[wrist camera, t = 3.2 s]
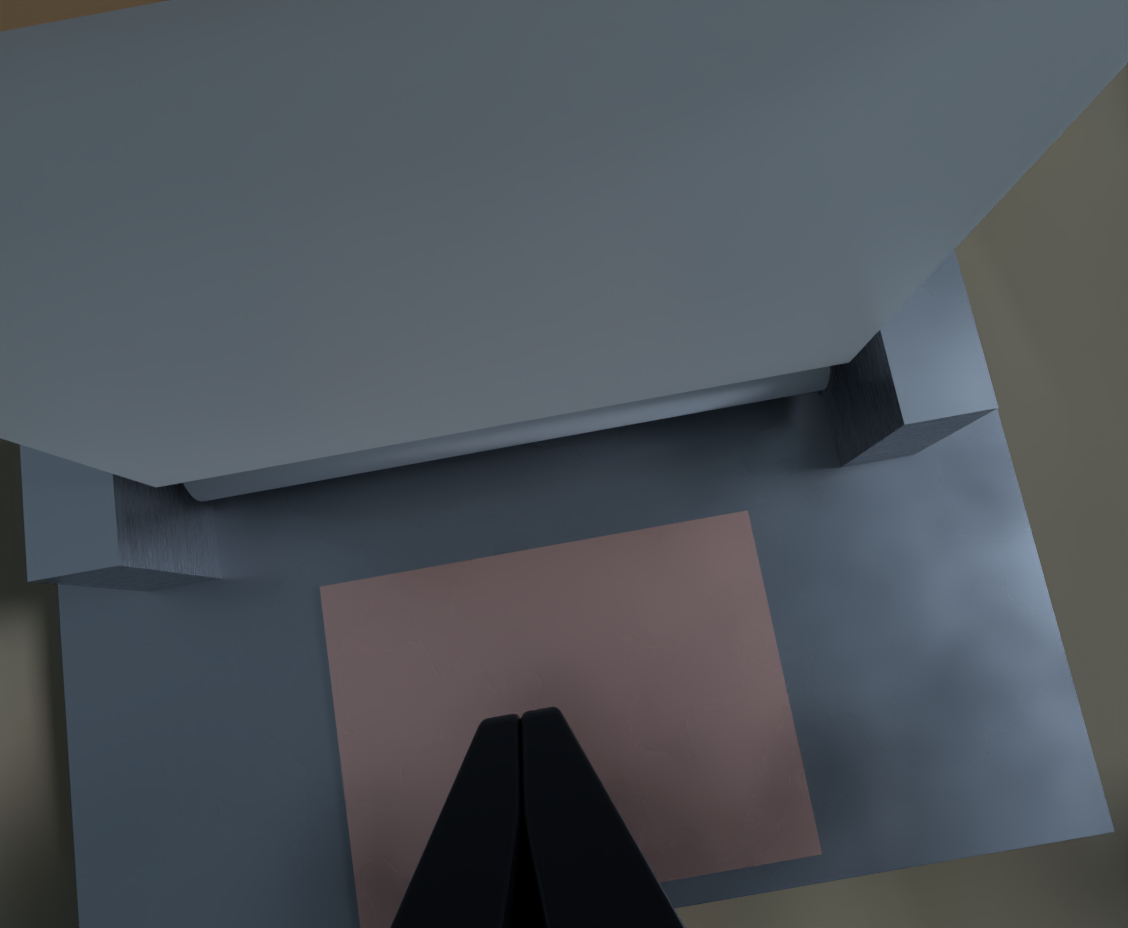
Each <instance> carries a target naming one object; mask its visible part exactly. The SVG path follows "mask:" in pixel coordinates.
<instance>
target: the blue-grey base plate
mask: <svg viewBox="0 0 1128 928" xmlns="http://www.w3.org/2000/svg"><path fill="white" fill-rule="evenodd" d="M997 408H998V404H997V400H996V397H995V393H994V390H993V386H992V382H991V379H990V375H989V372H988V368H987V364H986V361H985V357H984V354H983V350H982V346H981V343H980V339H979V336H978V332H977V328H976V325H975V321H974V318H973V314H972V310H971V307H970V303H969V300H968V296H967V293H966V289H965V285H964V282H963V278H962V275H961V271H960V267H959V264H958V260H957V257H956V253H955V249H954V250H953V251H952V252H951V253H950V255H949V256H948V257H947V258H946V259H945V260H944V261H943V262H942V263H941V264H940V265H939V266H938V267H937V269H936V270H935V271H934V272H933V273H932V274H931V275H930V276H929V277H928V278H927V279H926V280H925V281H924V283H923V284H922V285H921V286H920V287H919V288H918V289H917V290H916V291H915V292H914V293H913V294H912V295H911V297H910V298H909V299H908V300H907V301H906V302H905V303H904V304H903V305H902V306H901V307H900V308H899V309H898V311H897V312H896V313H895V314H894V315H893V316H892V317H891V318H890V319H889V320H888V321H887V322H886V323H885V325H884V326H883V327H882V328H881V329H880V330H879V331H878V332H877V333H876V334H875V335H874V336H873V337H872V339H871V340H870V341H869V342H868V343H867V344H866V345H865V346H864V347H863V348H862V349H861V350H860V351H859V353H858V354H857V355H856V356H855V357H854V358H853V359H852V360H851V361H850V362H849V363H844V364H839V365H833V366H830V377H829V381H828V384H827V387H826V388H825V389H824V390H820V391H815V392H809V393H804V394H798V395H793V396H787V397H781V398H776V399H770V400H765V401H759V402H754V403H748V404H743V405H737V406H731V407H726V408H720V409H715V410H709V411H704V412H698V413H693V414H687V415H681V416H676V417H670V418H665V419H659V420H654V421H648V422H642V423H637V424H631V425H626V426H620V427H615V428H609V429H604V430H598V431H592V432H587V433H581V434H576V435H570V436H565V437H559V438H554V439H548V440H542V441H537V442H531V443H526V444H520V445H515V446H509V447H504V448H498V449H492V450H487V451H481V452H476V453H470V454H465V455H459V456H453V457H448V458H442V459H437V460H431V461H426V462H420V463H415V464H409V465H403V466H398V467H392V468H387V469H381V470H376V471H370V472H365V473H359V474H353V475H348V476H342V477H337V478H331V479H326V480H320V481H314V482H309V483H303V484H298V485H292V486H287V487H281V488H276V489H270V490H264V491H259V492H253V493H248V494H242V495H237V496H231V497H226V498H220V499H214V500H209V501H203V502H202V501H198V500H196V499H195V498H193V497H192V496H191V495H190V493H189V492H188V491H187V489H186V488H185V486H184V484H183V483H178V484H172V485H167V486H161V487H153V486H150V485H147V484H144V483H140V482H137V481H134V480H131V479H128V478H125V477H121V476H118V475H115V474H112V473H109V472H105V471H102V470H99V469H96V468H93V467H90V466H86V465H83V464H80V463H77V462H74V461H71V460H67V459H64V458H61V457H58V456H55V455H52V454H48V453H45V452H42V451H39V450H36V449H33V448H29V447H26V446H23V445H20V458H21V476H22V494H23V512H24V529H25V547H26V565H27V582H35V583H47V584H58V597H59V613H60V629H61V645H62V661H63V677H64V693H65V709H66V725H67V741H68V757H69V773H70V789H71V805H72V821H73V837H74V853H75V868H76V884H77V900H78V916H79V928H390V927H391V924H392V922H393V920H394V918H395V915H396V913H397V911H398V908H399V906H400V904H401V902H402V899H403V897H404V895H405V892H406V890H407V888H408V885H409V883H410V881H411V879H412V876H413V874H414V872H415V869H416V867H417V865H418V863H419V860H420V858H421V856H422V853H423V851H424V849H425V847H426V844H427V842H428V840H429V837H430V835H431V833H432V831H433V828H434V826H435V824H436V821H437V819H438V817H439V815H440V812H441V810H442V808H443V805H444V803H445V801H446V799H447V796H448V794H449V792H450V789H451V787H452V785H453V783H454V780H455V778H456V776H457V773H458V771H459V769H460V767H461V764H462V762H463V760H464V757H465V755H466V753H467V751H468V748H469V746H470V744H471V741H472V739H473V737H474V735H475V732H476V730H477V728H478V726H479V724H480V723H481V722H482V721H483V720H484V719H487V718H491V717H497V716H502V715H508V714H517V715H519V716H520V718H521V717H522V714H523V713H524V712H526V711H531V710H536V709H542V708H548V707H557V708H559V709H560V710H561V712H562V713H563V715H564V717H565V718H566V720H567V722H568V724H569V725H570V727H571V729H572V731H573V732H574V734H575V736H576V738H577V739H578V741H579V743H580V745H581V746H582V748H583V750H584V752H585V753H586V755H587V757H588V759H589V760H590V762H591V764H592V766H593V767H594V769H595V771H596V773H597V774H598V776H599V778H600V780H601V781H602V783H603V785H604V787H605V788H606V790H607V792H608V794H609V795H610V797H611V799H612V801H613V802H614V804H615V806H616V808H617V809H618V811H619V813H620V815H621V816H622V818H623V820H624V822H625V823H626V825H627V827H628V829H629V830H630V832H631V834H632V836H633V837H634V839H635V841H636V843H637V844H638V846H639V848H640V850H641V851H642V853H643V855H644V857H645V858H646V860H647V862H648V864H649V865H650V867H651V869H652V871H653V872H654V874H655V876H656V878H657V879H658V881H659V883H660V885H661V886H662V888H663V890H664V892H665V893H666V895H667V897H668V899H669V900H670V902H671V904H672V906H673V907H674V908H679V907H685V906H690V905H696V904H702V903H708V902H713V901H719V900H725V899H731V898H736V897H742V896H748V895H754V894H759V893H765V892H771V891H777V890H782V889H788V888H794V887H800V886H805V885H811V884H817V883H823V882H828V881H834V880H840V879H846V878H851V877H857V876H863V875H869V874H874V873H880V872H886V871H892V870H897V869H903V868H909V867H915V866H920V865H926V864H932V863H938V862H943V861H949V860H955V859H961V858H966V857H972V856H978V855H984V854H989V853H995V852H1001V851H1007V850H1012V849H1018V848H1024V847H1030V846H1035V845H1041V844H1047V843H1053V842H1058V841H1064V840H1070V839H1076V838H1081V837H1087V836H1093V835H1099V834H1104V833H1110V832H1115V831H1114V827H1113V824H1112V820H1111V817H1110V813H1109V809H1108V806H1107V802H1106V799H1105V795H1104V791H1103V788H1102V784H1101V781H1100V777H1099V773H1098V770H1097V766H1096V763H1095V759H1094V755H1093V752H1092V748H1091V745H1090V741H1089V737H1088V734H1087V730H1086V727H1085V723H1084V719H1083V716H1082V712H1081V709H1080V705H1079V701H1078V698H1077V694H1076V691H1075V687H1074V683H1073V680H1072V676H1071V673H1070V669H1069V665H1068V662H1067V658H1066V655H1065V651H1064V647H1063V644H1062V640H1061V637H1060V633H1059V629H1058V626H1057V622H1056V619H1055V615H1054V611H1053V608H1052V604H1051V601H1050V597H1049V593H1048V590H1047V586H1046V583H1045V579H1044V575H1043V572H1042V568H1041V565H1040V561H1039V557H1038V554H1037V550H1036V547H1035V543H1034V539H1033V536H1032V532H1031V529H1030V525H1029V521H1028V518H1027V514H1026V511H1025V507H1024V503H1023V500H1022V496H1021V493H1020V489H1019V485H1018V482H1017V478H1016V475H1015V471H1014V467H1013V464H1012V460H1011V457H1010V453H1009V449H1008V446H1007V442H1006V439H1005V435H1004V431H1003V428H1002V424H1001V421H1000V417H999V413H998V410H997Z"/></svg>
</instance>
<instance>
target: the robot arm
mask: <svg viewBox="0 0 1128 928" xmlns="http://www.w3.org/2000/svg"><path fill="white" fill-rule="evenodd" d="M390 928H685V927H684V925H683V923H682V921H681V920H680V918H679V916H678V914H677V913H676V911H675V909H674V907H673V906H672V904H671V902H670V900H669V899H668V897H667V895H666V893H665V892H664V890H663V888H662V886H661V885H660V883H659V881H658V879H657V878H656V876H655V874H654V872H653V871H652V869H651V867H650V865H649V864H648V862H647V860H646V858H645V857H644V855H643V853H642V851H641V850H640V848H639V846H638V844H637V843H636V841H635V839H634V837H633V836H632V834H631V832H630V830H629V829H628V827H627V825H626V823H625V822H624V820H623V818H622V816H621V815H620V813H619V811H618V809H617V808H616V806H615V804H614V802H613V801H612V799H611V797H610V795H609V794H608V792H607V790H606V788H605V787H604V785H603V783H602V781H601V780H600V778H599V776H598V774H597V773H596V771H595V769H594V767H593V766H592V764H591V762H590V760H589V759H588V757H587V755H586V753H585V752H584V750H583V748H582V746H581V745H580V743H579V741H578V739H577V738H576V736H575V734H574V732H573V731H572V729H571V727H570V725H569V724H568V722H567V720H566V718H565V717H564V715H563V713H562V712H561V710H560V709H559V708H557V707H548V708H542V709H536V710H531V711H526V712H524V713H523V714H522V717H521V718H520V716H519V715H517V714H508V715H502V716H497V717H491V718H487V719H484V720H483V721H482V722H481V723H480V724H479V726H478V728H477V730H476V732H475V735H474V737H473V739H472V741H471V744H470V746H469V748H468V751H467V753H466V755H465V757H464V760H463V762H462V764H461V767H460V769H459V771H458V773H457V776H456V778H455V780H454V783H453V785H452V787H451V789H450V792H449V794H448V796H447V799H446V801H445V803H444V805H443V808H442V810H441V812H440V815H439V817H438V819H437V821H436V824H435V826H434V828H433V831H432V833H431V835H430V837H429V840H428V842H427V844H426V847H425V849H424V851H423V853H422V856H421V858H420V860H419V863H418V865H417V867H416V869H415V872H414V874H413V876H412V879H411V881H410V883H409V885H408V888H407V890H406V892H405V895H404V897H403V899H402V902H401V904H400V906H399V908H398V911H397V913H396V915H395V918H394V920H393V922H392V924H391V927H390Z"/></svg>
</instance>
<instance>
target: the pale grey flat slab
mask: <svg viewBox="0 0 1128 928" xmlns="http://www.w3.org/2000/svg"><path fill="white" fill-rule="evenodd" d="M1127 63H1128V0H0V438H1V439H4V440H7V441H10V442H14V443H17V444H20V445H23V446H26V447H29V448H33V449H36V450H39V451H42V452H45V453H48V454H52V455H55V456H58V457H61V458H64V459H67V460H71V461H74V462H77V463H80V464H83V465H86V466H90V467H93V468H96V469H99V470H102V471H105V472H109V473H112V474H115V475H118V476H121V477H125V478H128V479H131V480H134V481H137V482H140V483H144V484H147V485H150V486H153V487H161V486H167V485H172V484H178V483H183V484H184V486H185V488H186V489H187V491H188V492H189V493H190V495H191V496H192V497H193V498H195V499H196V500H198V501H202V502H203V501H209V500H214V499H220V498H226V497H231V496H237V495H242V494H248V493H253V492H259V491H264V490H270V489H276V488H281V487H287V486H292V485H298V484H303V483H309V482H314V481H320V480H326V479H331V478H337V477H342V476H348V475H353V474H359V473H365V472H370V471H376V470H381V469H387V468H392V467H398V466H403V465H409V464H415V463H420V462H426V461H431V460H437V459H442V458H448V457H453V456H459V455H465V454H470V453H476V452H481V451H487V450H492V449H498V448H504V447H509V446H515V445H520V444H526V443H531V442H537V441H542V440H548V439H554V438H559V437H565V436H570V435H576V434H581V433H587V432H592V431H598V430H604V429H609V428H615V427H620V426H626V425H631V424H637V423H642V422H648V421H654V420H659V419H665V418H670V417H676V416H681V415H687V414H693V413H698V412H704V411H709V410H715V409H720V408H726V407H731V406H737V405H743V404H748V403H754V402H759V401H765V400H770V399H776V398H781V397H787V396H793V395H798V394H804V393H809V392H815V391H820V390H824V389H825V388H826V387H827V384H828V381H829V377H830V366H833V365H839V364H844V363H849V362H850V361H851V360H852V359H853V358H854V357H855V356H856V355H857V354H858V353H859V351H860V350H861V349H862V348H863V347H864V346H865V345H866V344H867V343H868V342H869V341H870V340H871V339H872V337H873V336H874V335H875V334H876V333H877V332H878V331H879V330H880V329H881V328H882V327H883V326H884V325H885V323H886V322H887V321H888V320H889V319H890V318H891V317H892V316H893V315H894V314H895V313H896V312H897V311H898V309H899V308H900V307H901V306H902V305H903V304H904V303H905V302H906V301H907V300H908V299H909V298H910V297H911V295H912V294H913V293H914V292H915V291H916V290H917V289H918V288H919V287H920V286H921V285H922V284H923V283H924V281H925V280H926V279H927V278H928V277H929V276H930V275H931V274H932V273H933V272H934V271H935V270H936V269H937V267H938V266H939V265H940V264H941V263H942V262H943V261H944V260H945V259H946V258H947V257H948V256H949V255H950V253H951V252H952V251H953V250H954V249H955V248H956V247H957V246H958V245H959V244H960V243H961V242H962V241H963V239H964V238H965V237H966V236H967V235H968V234H969V233H970V232H971V231H972V230H973V229H974V228H975V227H976V225H977V224H978V223H979V222H980V221H981V220H982V219H983V218H984V217H985V216H986V215H987V214H988V213H989V211H990V210H991V209H992V208H993V207H994V206H995V205H996V204H997V203H998V202H999V201H1000V200H1001V199H1002V197H1003V196H1004V195H1005V194H1006V193H1007V192H1008V191H1009V190H1010V189H1011V188H1012V187H1013V186H1014V185H1015V183H1016V182H1017V181H1018V180H1019V179H1020V178H1021V177H1022V176H1023V175H1024V174H1025V173H1026V172H1027V170H1028V169H1029V168H1030V167H1031V166H1032V165H1033V164H1034V163H1035V162H1036V161H1037V160H1038V159H1039V158H1040V156H1041V155H1042V154H1043V153H1044V152H1045V151H1046V150H1047V149H1048V148H1049V147H1050V146H1051V145H1052V144H1053V142H1054V141H1055V140H1056V139H1057V138H1058V137H1059V136H1060V135H1061V134H1062V133H1063V132H1064V131H1065V130H1066V128H1067V127H1068V126H1069V125H1070V124H1071V123H1072V122H1073V121H1074V120H1075V119H1076V118H1077V117H1078V116H1079V114H1080V113H1081V112H1082V111H1083V110H1084V109H1085V108H1086V107H1087V106H1088V105H1089V104H1090V103H1091V102H1092V100H1093V99H1094V98H1095V97H1096V96H1097V95H1098V94H1099V93H1100V92H1101V91H1102V90H1103V89H1104V88H1105V86H1106V85H1107V84H1108V83H1109V82H1110V81H1111V80H1112V79H1113V78H1114V77H1115V76H1116V75H1117V74H1118V72H1119V71H1120V70H1121V69H1122V68H1123V67H1124V66H1125V65H1126V64H1127Z"/></svg>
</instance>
